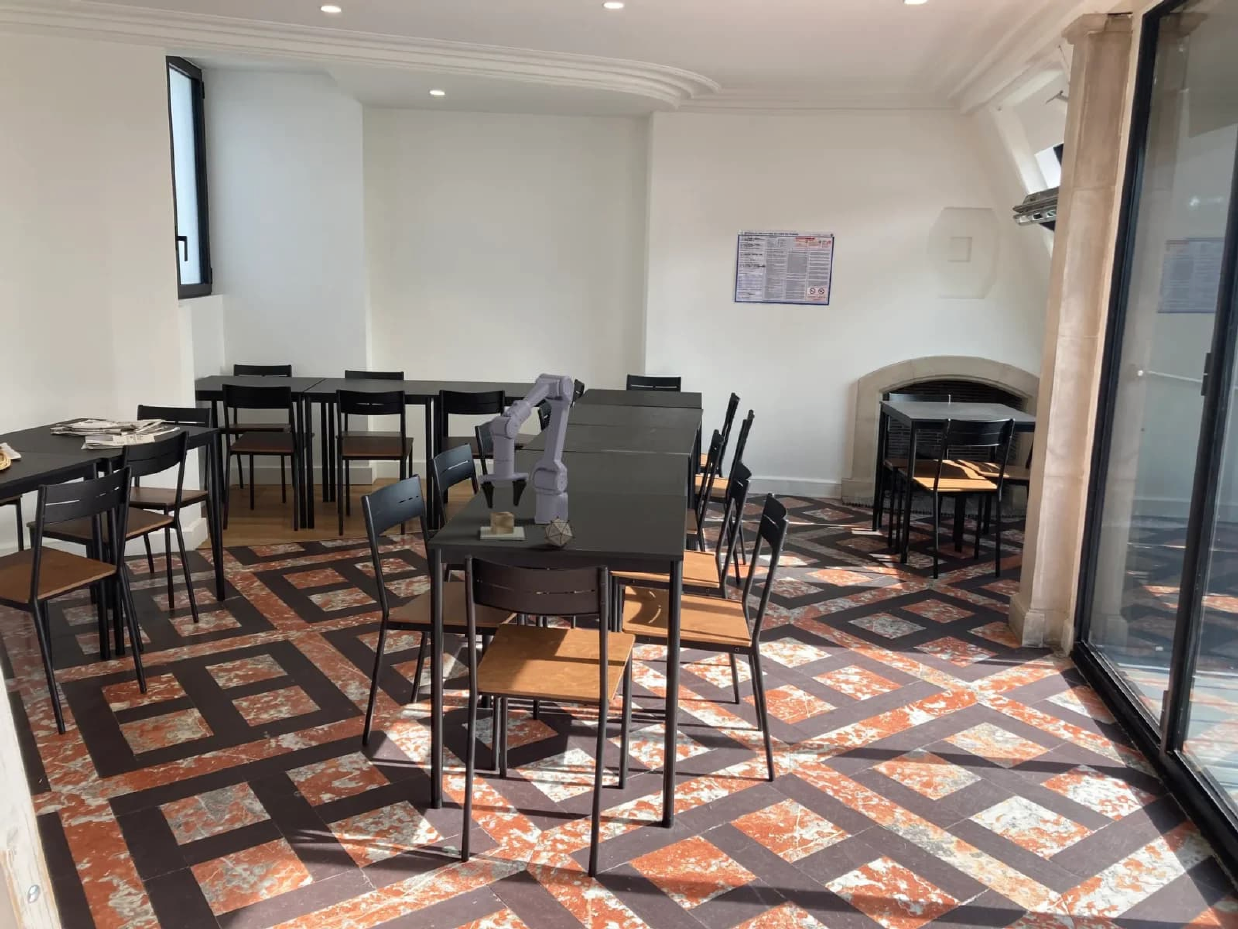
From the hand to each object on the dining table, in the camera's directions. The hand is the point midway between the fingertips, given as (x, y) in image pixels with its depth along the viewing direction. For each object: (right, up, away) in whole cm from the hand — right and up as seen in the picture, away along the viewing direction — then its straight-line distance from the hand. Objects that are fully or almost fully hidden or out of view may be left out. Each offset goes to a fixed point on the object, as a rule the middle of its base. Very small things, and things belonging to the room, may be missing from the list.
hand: (502, 506), depth 265 cm
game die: (+16, -11, -8) cm, 21 cm away
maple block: (0, -7, +1) cm, 7 cm away
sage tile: (0, -8, +1) cm, 8 cm away
